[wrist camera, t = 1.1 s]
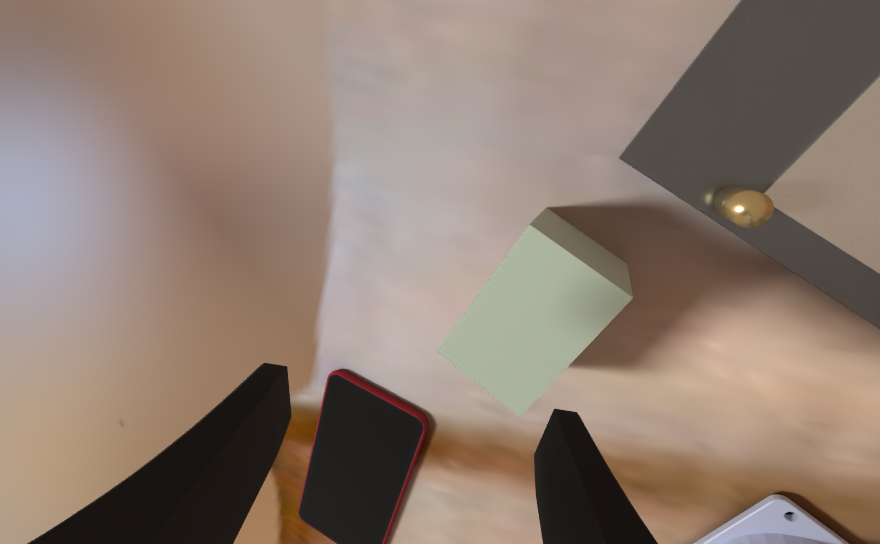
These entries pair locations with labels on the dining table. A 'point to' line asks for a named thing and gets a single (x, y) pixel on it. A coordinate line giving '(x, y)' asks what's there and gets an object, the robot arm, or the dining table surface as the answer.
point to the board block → (538, 312)
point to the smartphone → (359, 461)
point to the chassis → (783, 140)
